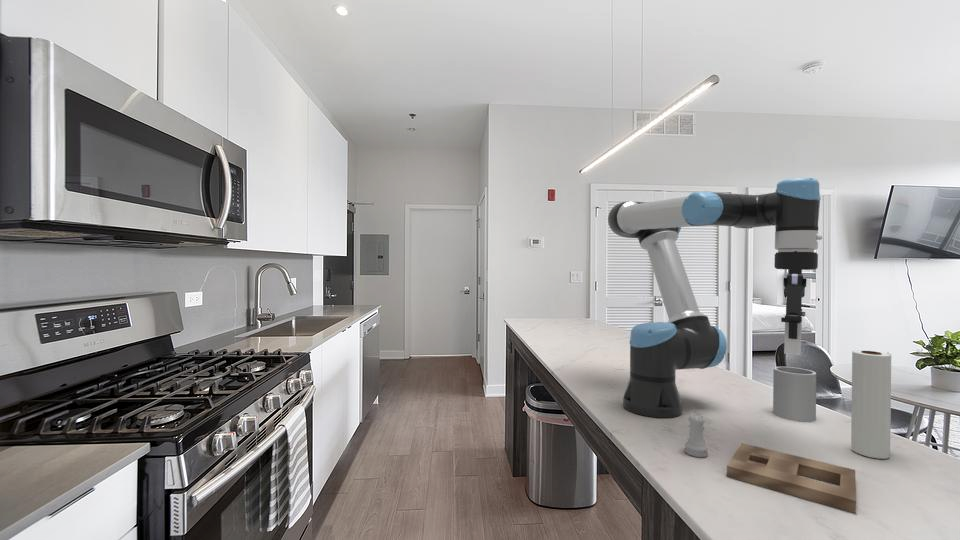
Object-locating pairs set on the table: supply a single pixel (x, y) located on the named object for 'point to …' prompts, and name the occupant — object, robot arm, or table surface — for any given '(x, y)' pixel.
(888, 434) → the paper towel roll
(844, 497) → the socket board
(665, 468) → the table surface
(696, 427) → the rook chess piece
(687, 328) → the robot arm
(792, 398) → the cup
